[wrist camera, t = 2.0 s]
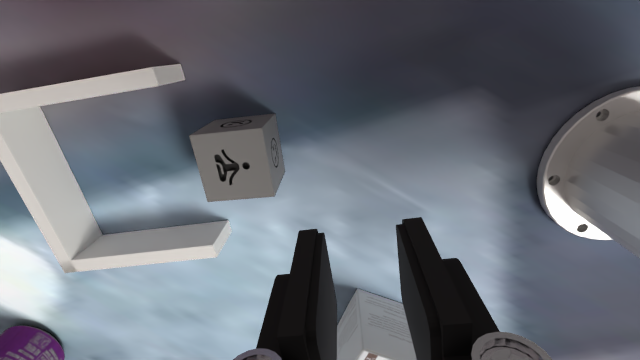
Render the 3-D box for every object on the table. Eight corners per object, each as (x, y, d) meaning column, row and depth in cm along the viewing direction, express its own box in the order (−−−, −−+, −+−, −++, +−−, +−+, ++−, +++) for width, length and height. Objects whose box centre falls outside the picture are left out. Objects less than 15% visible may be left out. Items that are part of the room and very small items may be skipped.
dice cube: (215, 119, 26) (189, 135, 21) (275, 113, 26) (261, 127, 21) (229, 176, 28) (207, 202, 23) (285, 171, 27) (274, 196, 23)
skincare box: (386, 344, 35) (397, 416, 28) (334, 327, 34) (333, 397, 27) (412, 304, 32) (431, 373, 26) (356, 286, 32) (361, 350, 25)
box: (180, 63, 24) (152, 66, 21) (231, 231, 30) (217, 257, 26) (18, 92, 26) (-35, 100, 22) (96, 246, 32) (64, 273, 28)
